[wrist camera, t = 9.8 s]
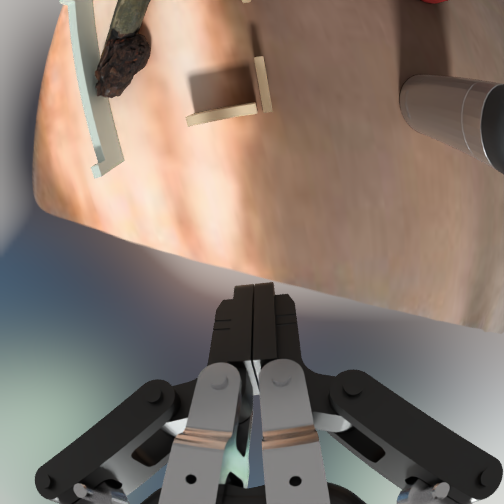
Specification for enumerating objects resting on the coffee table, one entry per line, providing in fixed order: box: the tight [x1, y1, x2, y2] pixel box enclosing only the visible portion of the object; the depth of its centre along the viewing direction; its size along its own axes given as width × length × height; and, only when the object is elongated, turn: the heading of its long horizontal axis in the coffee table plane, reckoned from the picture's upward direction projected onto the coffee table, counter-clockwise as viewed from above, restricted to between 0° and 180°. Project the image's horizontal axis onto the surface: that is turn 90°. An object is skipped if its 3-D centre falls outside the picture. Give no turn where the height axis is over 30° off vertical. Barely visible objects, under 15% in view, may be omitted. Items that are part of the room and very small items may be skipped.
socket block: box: [186, 0, 273, 127], centre depth 24 cm, size 10×22×5 cm, turn 9°
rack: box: [60, 0, 124, 178], centre depth 25 cm, size 1×28×7 cm, turn 10°
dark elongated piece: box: [95, 0, 150, 98], centre depth 24 cm, size 18×7×6 cm, turn 165°
